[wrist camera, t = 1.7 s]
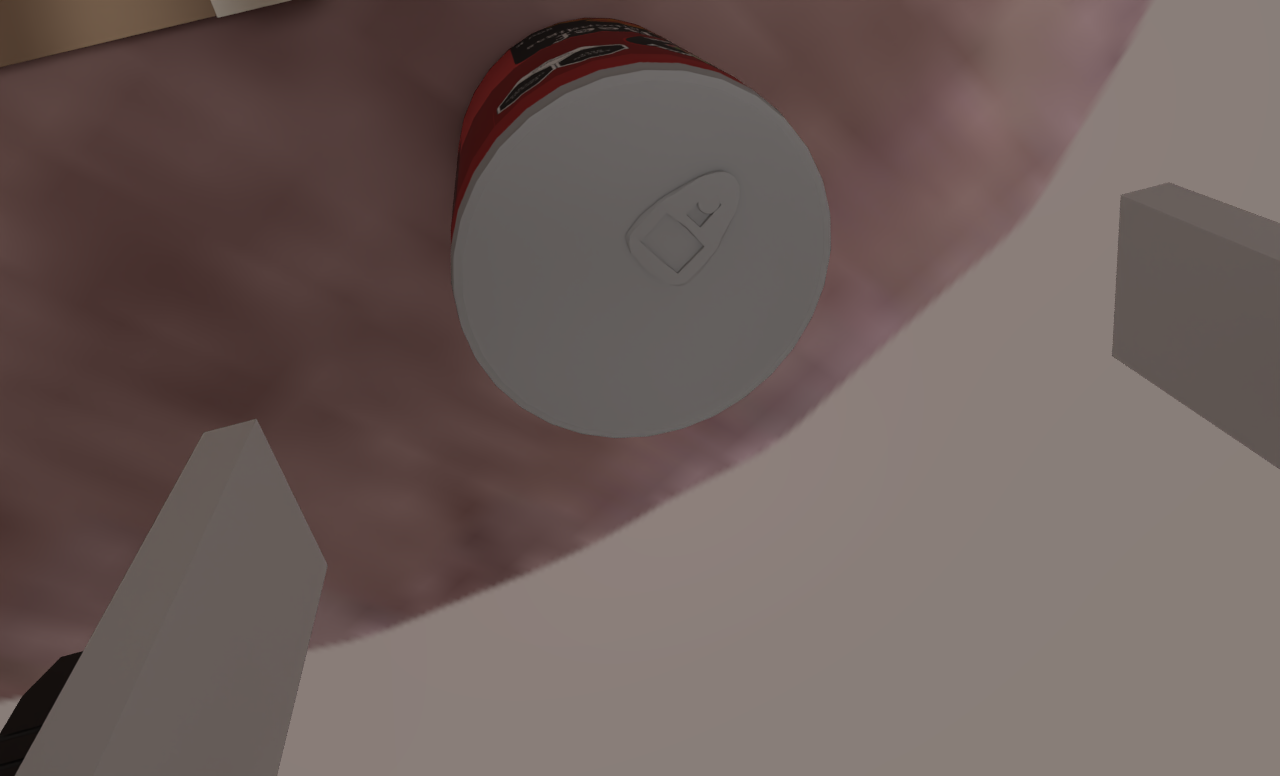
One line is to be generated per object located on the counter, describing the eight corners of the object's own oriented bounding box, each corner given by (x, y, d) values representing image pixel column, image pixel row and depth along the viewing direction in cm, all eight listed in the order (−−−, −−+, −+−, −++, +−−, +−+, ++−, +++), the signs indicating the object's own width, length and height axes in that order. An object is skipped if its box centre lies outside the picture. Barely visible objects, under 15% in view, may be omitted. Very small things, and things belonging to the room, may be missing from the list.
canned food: (755, 86, 27) (907, 172, 18) (637, 308, 30) (714, 488, 21) (525, -40, 25) (557, -19, 15) (419, 216, 28) (389, 372, 18)
